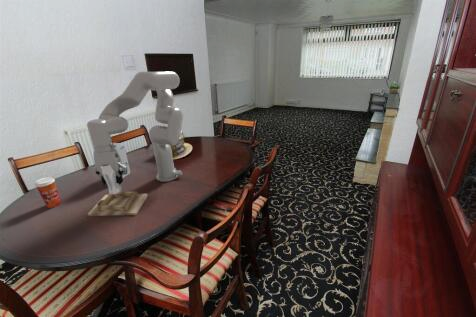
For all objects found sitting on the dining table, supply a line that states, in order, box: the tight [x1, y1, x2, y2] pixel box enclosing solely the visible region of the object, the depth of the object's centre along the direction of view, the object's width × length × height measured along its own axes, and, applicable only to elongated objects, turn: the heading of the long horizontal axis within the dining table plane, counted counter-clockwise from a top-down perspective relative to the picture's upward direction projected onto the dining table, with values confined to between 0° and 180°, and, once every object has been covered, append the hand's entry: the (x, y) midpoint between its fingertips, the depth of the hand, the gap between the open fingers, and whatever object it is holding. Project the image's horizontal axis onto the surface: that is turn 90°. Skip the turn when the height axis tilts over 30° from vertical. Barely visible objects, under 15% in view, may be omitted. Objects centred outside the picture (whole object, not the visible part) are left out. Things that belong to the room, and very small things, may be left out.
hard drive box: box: [112, 142, 131, 179], centre depth 138 cm, size 16×8×20 cm, turn 168°
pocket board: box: [87, 191, 148, 217], centre depth 116 cm, size 22×16×4 cm
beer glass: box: [100, 165, 123, 195], centre depth 110 cm, size 7×7×15 cm
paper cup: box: [34, 176, 62, 209], centre depth 115 cm, size 8×8×14 cm
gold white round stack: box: [170, 130, 193, 160], centre depth 172 cm, size 25×25×17 cm
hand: (113, 182), depth 111 cm, fingers closed on beer glass, 6 cm apart
